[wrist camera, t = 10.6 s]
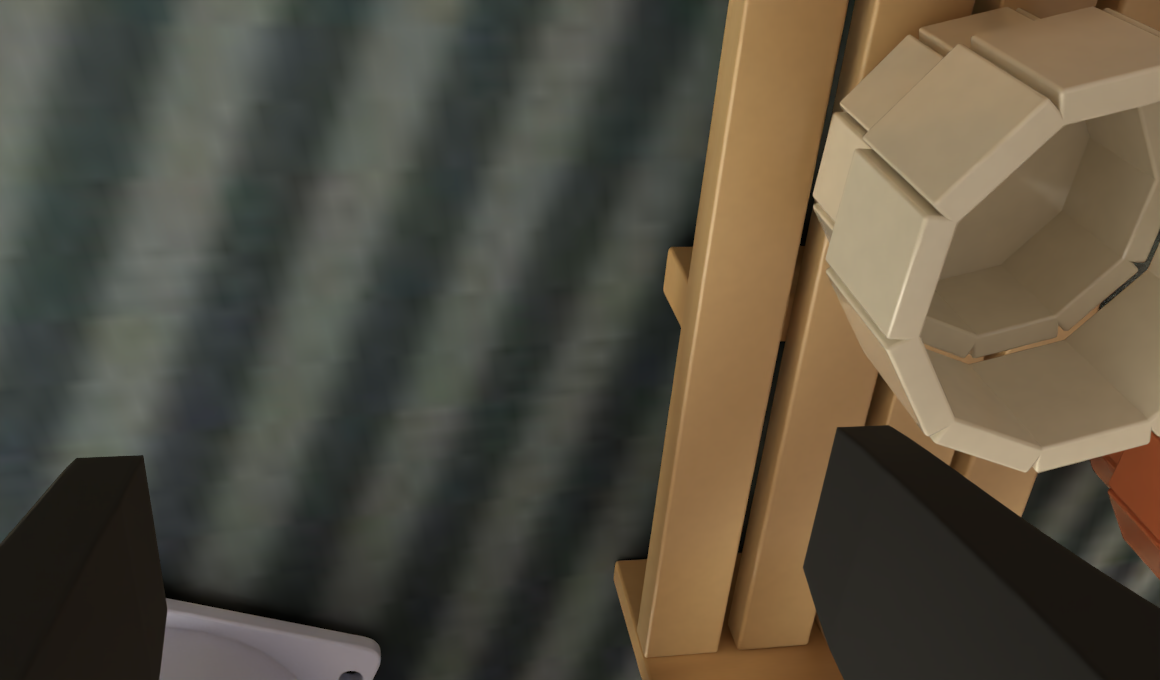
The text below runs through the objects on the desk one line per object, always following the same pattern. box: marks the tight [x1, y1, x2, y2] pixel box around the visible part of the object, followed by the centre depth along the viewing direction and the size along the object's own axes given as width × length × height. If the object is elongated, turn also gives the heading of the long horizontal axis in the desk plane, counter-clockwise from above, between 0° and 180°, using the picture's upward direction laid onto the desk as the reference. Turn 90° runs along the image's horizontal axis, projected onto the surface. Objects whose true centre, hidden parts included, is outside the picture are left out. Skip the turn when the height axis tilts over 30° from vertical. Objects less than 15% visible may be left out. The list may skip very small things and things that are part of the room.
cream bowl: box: [813, 6, 1160, 473], centre depth 16 cm, size 6×6×4 cm
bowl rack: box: [614, 0, 1160, 680], centre depth 19 cm, size 8×16×6 cm, turn 175°
